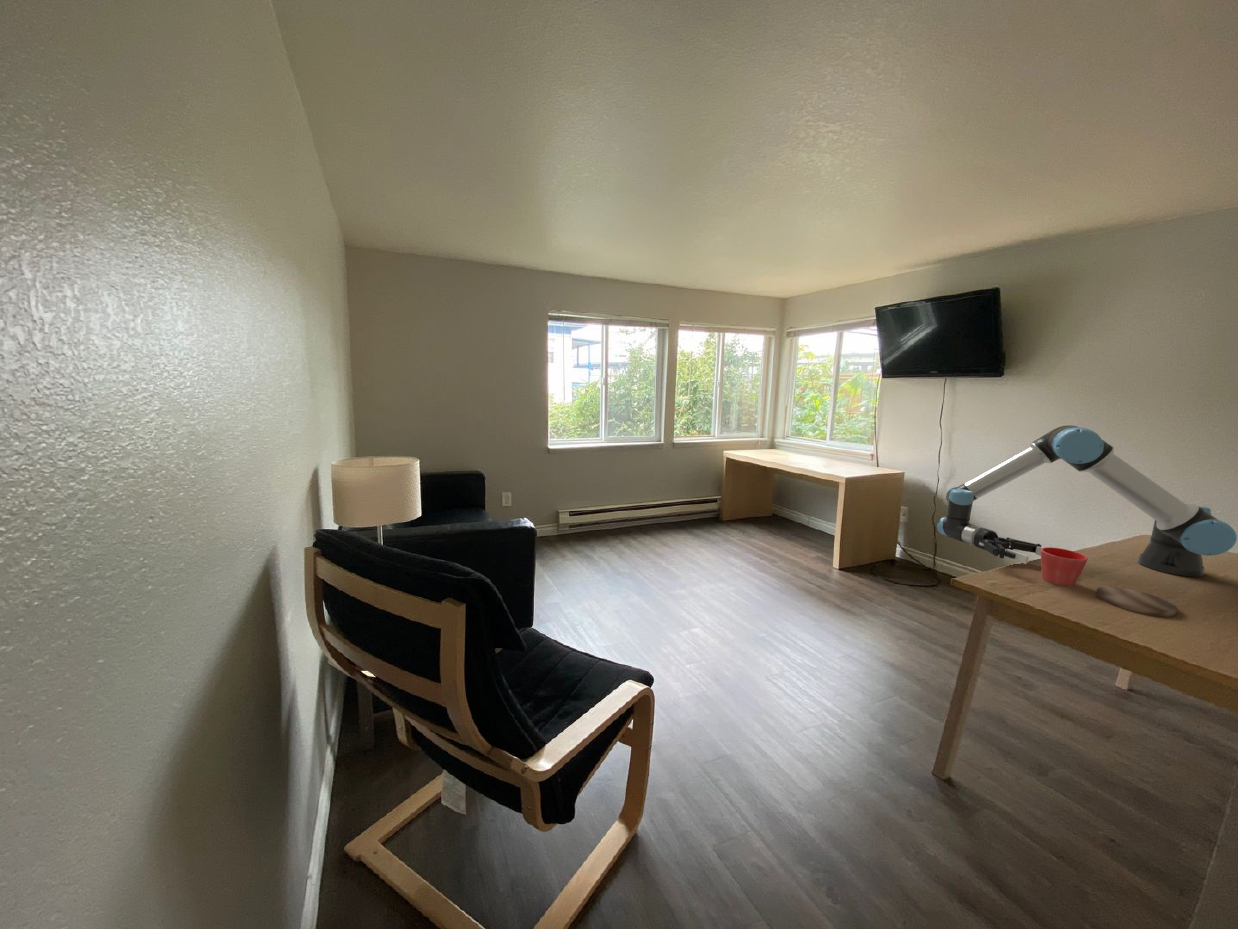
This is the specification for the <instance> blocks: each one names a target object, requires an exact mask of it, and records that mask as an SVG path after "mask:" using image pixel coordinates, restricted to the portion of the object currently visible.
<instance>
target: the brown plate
mask: <svg viewBox="0 0 1238 929" xmlns="http://www.w3.org/2000/svg"><path fill="white" fill-rule="evenodd" d="M1095 595H1097V596H1096V597H1097V598H1098V599H1100V600H1102V601H1103V602H1105V603H1107V604H1109V605H1112V606H1113V607H1116V608H1119V609H1123V610H1127V611H1129V612H1133V613H1138V614H1142V615H1148V616H1154V617H1164V618H1165V617H1167V618H1169V617H1174V616H1176V615H1177V612H1178V607H1177V606H1176V605H1175V604H1174V603H1172V602H1170V601H1169V600H1166V599H1165V598H1161V597H1160V596H1155V595H1153V594H1150V593H1147V592H1143V591H1139V590H1136V589H1135V590H1134V589H1131V588H1126V587H1120V586H1109V585H1107V586H1105V585H1104V586H1098V587H1097V588H1096V591H1095Z"/></svg>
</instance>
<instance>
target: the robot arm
mask: <svg viewBox="0 0 1238 929" xmlns="http://www.w3.org/2000/svg"><path fill="white" fill-rule="evenodd" d="M1114 448H1115V447H1113V445H1111V444H1109V443H1108V442H1107V441H1105V440H1103V439H1102V437H1101V436H1100V434H1098V433H1097V432H1095V431H1093V430H1092V429H1089V428H1085V427H1079V426H1076V425H1062V426H1058V427H1056V428H1054V429H1052V430H1050V431H1049V432H1047V433H1046V434H1044V435H1042V436H1040V437H1039V438H1037V439H1036V440H1033V441H1032V442H1031V443H1030V446H1029V447H1027V448H1025V449H1023V450H1021V451H1020V452H1018V453H1016V454H1014V455H1012V456H1011V457H1009V458H1007V459H1005V460H1004V461H1002V462H1000V463H999V464H996V465H994V466H992V467H991V468H990V469H989V468H988V469H987V470H985V471H984V472H982V473H980V474H978V475H976V476H975V477H973V478H971V479H969V480H968V481H966V482H964V483H962V484H961V485H959V486H955V487H951V488H950V489H948V490H947V491H946V492H947V493H946V495H945V498H946V501H947V511H946V516H942V517H941V518H940V519H939V520H938V521H939V522H938V523H937V525H936V526H937V527H936V528H937V530H938V532H939V533H940V534H941V535H943V536H946V537H947V538H950V539H953V540H956V541H960V542H962V543H965V544H969V547H976V548H979V549H981V550H983V551H987V552H988V553H989V554H991V555H993V556H995V557H999V558H1000V559H1004V558H1008V559H1011V560H1013V561H1016V562H1018V563H1022V564H1024V565H1027V564H1028V562H1029V555H1027V554H1023V553H1021V552H1018V551H1022V552H1029V553H1034V554H1035V555H1037V556H1040V557H1041V549H1042V548H1043V546H1042V545H1041V544H1040V543H1033V542H1027V541H1025V540H1024V541H1023V540H1019V539H1014V538H1011V537H1006V538H1005V537H1001V536H1000V537H999V536H998V534H997V532H996V531H995V530H992V529H988V528H985V527H982V526H979V525H976V524H973V523H970V520H971V513H972V508H973V503H974V501H976V500H978V499H980V498H981V497H983V496H986V495H987V494H989V493H991V492H992V491H995V490H996V489H998V488H1000V487H1003V486H1004V485H1007V484H1008V483H1010V482H1012V481H1013V480H1016V479H1017V478H1020V477H1021V476H1023V475H1025V474H1027V473H1029V472H1030V471H1032V470H1035V469H1037V468H1038V467H1040V466H1042V465H1044V464H1052V463H1053V462H1056V461H1058V460H1060V459H1061V460H1063V462H1065V463H1067V464H1068V465H1069V466H1071V467H1073V468H1074V469H1075V470H1076V471H1078V472H1083V473H1085V472H1087V473H1089V474H1091V475H1092V476H1093V477H1095V478H1096V479H1098V480H1099V481H1100V482H1102V483H1103V484H1105V485H1106V486H1108V488H1110V489H1112V490H1113V491H1114V492H1116V493H1117V494H1119V495H1120V496H1121V497H1122V498H1124V499H1125V500H1127V501H1128V502H1130V503H1131V504H1132V505H1134V506H1136V508H1138V509H1140V510H1141V511H1142V512H1143V513H1145V514H1146V515H1148V516H1149V517H1151V518H1152V519H1153V520H1154V523H1153V527H1152V531H1151V536H1150V539H1149V543H1148V544H1147V546H1146V548H1145V549H1143V552H1142V553H1140V554H1139V557H1138V560H1137V562H1138V563H1139V564H1140V566H1144V567H1146V568H1148V569H1152V570H1155V571H1158V572H1163V573H1166V574H1170V575H1177V576H1184V577H1190V578H1192V577H1193V578H1194V577H1195V578H1196V577H1200V578H1201V577H1203V576H1204V574H1205V566H1204V562H1203V556H1206V557H1207V556H1218V555H1221V554H1225V553H1227V552H1228V551H1229V550H1231V549H1232V548H1233V547H1234V546H1235V544H1236V543H1237V537H1238V536H1237V533H1236V531H1235V529H1234V528H1233V527H1232V526H1231V525H1230V524H1228V522H1226V521H1222V520H1220V519H1218V518H1217V517H1215V516H1214V515H1212V510H1211V508H1210V507H1208V506H1207V507H1206V506H1201V505H1200V506H1199V505H1198V504H1195V503H1185V502H1183V501H1182V500H1180V499H1179V498H1178V497H1177V496H1174V495H1173V494H1172V493H1170V492H1169V491H1167V490H1166V489H1165V488H1163V487H1162V486H1160V485H1159V484H1158V483H1156V482H1154V481H1153V480H1152V479H1150V478H1148V477H1147V476H1146V475H1144V474H1143V473H1141V472H1140V471H1139V470H1137V469H1136V468H1135V467H1133V466H1132V465H1131V464H1129V463H1127V462H1126V461H1124V460H1123V459H1121V458H1120V457H1118V456H1117V455H1116V454H1115V453H1114V452H1115V451H1114ZM1014 550H1015V551H1014ZM1016 550H1017V551H1016Z"/></svg>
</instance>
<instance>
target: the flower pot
mask: <svg viewBox="0 0 1238 929" xmlns="http://www.w3.org/2000/svg"><path fill="white" fill-rule="evenodd" d="M1040 560H1041V561H1040V562H1041V563H1040V565H1041V575H1042V576H1041V578H1042V579H1043V581H1046V582H1047V583H1049V584H1053V585H1056V586H1061V587H1074V586H1075V585H1076V584H1077V581H1078V579H1079V577H1080V575H1081V574H1082V573H1083V570H1084V568H1085V566H1086V564H1087V562H1088V557H1087V556H1086V555H1084V554H1082V553H1081V552H1080V553H1079V552H1076V551H1073V550H1069V549H1065V548H1059V547H1052V546H1051V547H1048V546H1047V547H1046V546H1045V547H1042V549H1041V556H1040Z"/></svg>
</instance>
